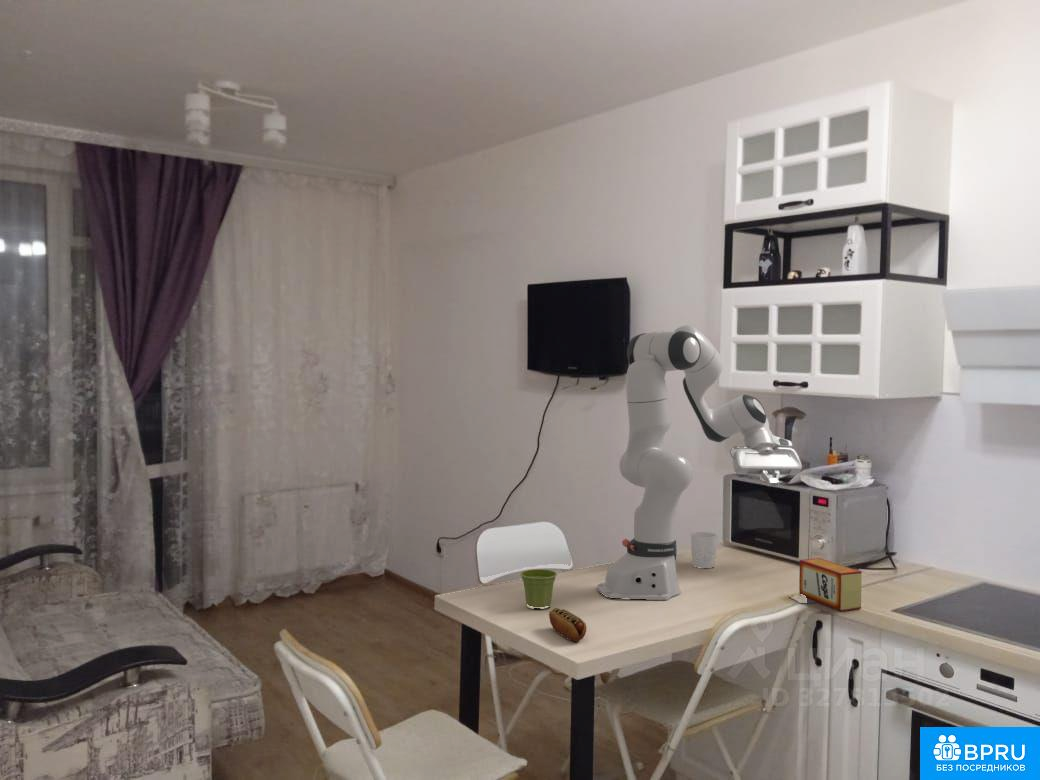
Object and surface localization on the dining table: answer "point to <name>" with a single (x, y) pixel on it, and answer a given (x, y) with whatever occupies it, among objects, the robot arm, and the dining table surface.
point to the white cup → (703, 549)
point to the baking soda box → (830, 584)
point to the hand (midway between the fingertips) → (773, 485)
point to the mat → (811, 601)
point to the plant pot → (538, 586)
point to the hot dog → (567, 624)
